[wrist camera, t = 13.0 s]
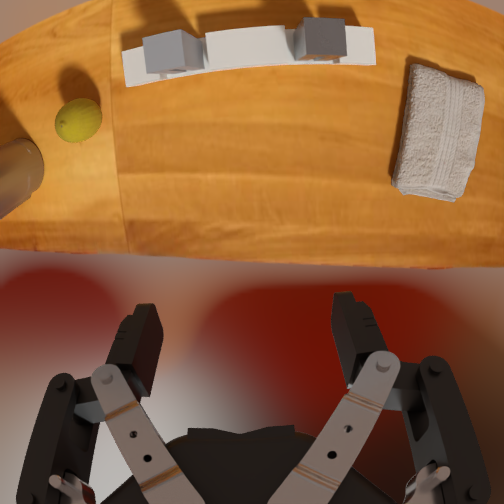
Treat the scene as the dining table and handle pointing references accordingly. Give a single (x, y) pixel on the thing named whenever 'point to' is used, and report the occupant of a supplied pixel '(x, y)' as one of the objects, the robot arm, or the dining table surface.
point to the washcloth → (438, 134)
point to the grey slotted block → (320, 39)
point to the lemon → (78, 120)
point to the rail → (230, 52)
